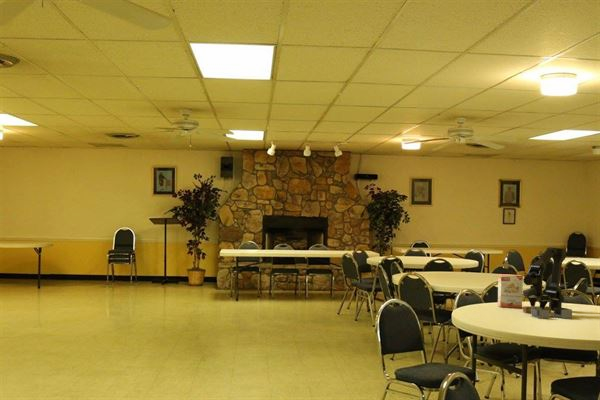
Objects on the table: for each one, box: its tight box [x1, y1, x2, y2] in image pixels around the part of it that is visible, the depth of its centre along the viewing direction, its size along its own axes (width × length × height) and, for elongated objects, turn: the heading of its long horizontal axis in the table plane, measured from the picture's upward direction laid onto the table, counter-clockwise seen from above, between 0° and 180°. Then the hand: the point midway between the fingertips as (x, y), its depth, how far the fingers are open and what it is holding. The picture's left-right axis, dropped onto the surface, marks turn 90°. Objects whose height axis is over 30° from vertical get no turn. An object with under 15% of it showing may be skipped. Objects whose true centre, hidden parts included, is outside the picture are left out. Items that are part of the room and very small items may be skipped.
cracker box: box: [497, 273, 524, 309], centre depth 359 cm, size 14×6×21 cm, turn 88°
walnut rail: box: [522, 305, 552, 314], centre depth 339 cm, size 16×4×4 cm, turn 98°
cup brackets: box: [530, 307, 573, 320], centre depth 324 cm, size 22×8×5 cm, turn 98°
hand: (537, 310), depth 339 cm, fingers open, 9 cm apart
